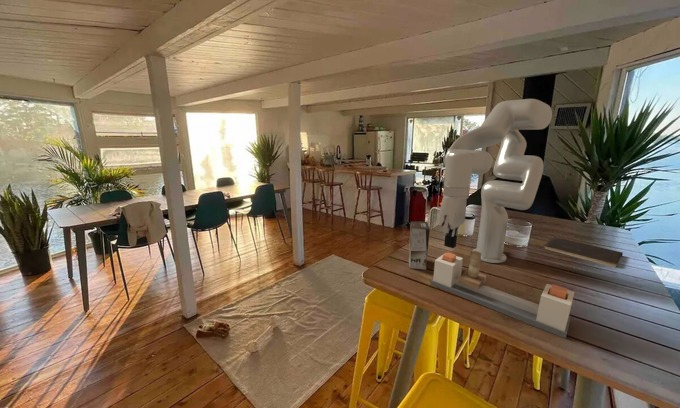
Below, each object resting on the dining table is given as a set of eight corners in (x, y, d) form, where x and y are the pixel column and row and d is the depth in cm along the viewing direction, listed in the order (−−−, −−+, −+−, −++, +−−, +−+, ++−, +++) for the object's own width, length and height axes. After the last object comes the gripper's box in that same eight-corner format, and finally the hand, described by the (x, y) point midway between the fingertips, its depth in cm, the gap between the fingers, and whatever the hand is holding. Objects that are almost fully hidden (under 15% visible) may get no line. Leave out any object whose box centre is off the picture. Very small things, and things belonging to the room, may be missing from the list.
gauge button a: (445, 261, 94) (446, 252, 93) (455, 264, 92) (456, 254, 91) (441, 264, 92) (442, 255, 91) (451, 267, 90) (452, 258, 89)
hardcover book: (615, 269, 104) (617, 263, 103) (543, 249, 121) (544, 244, 120) (621, 257, 113) (623, 252, 113) (553, 240, 131) (554, 236, 130)
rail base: (442, 274, 99) (444, 251, 97) (570, 321, 75) (577, 292, 72) (430, 284, 93) (432, 260, 91) (565, 338, 69) (573, 307, 66)
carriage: (466, 274, 92) (470, 246, 89) (486, 281, 88) (490, 252, 85) (458, 282, 87) (461, 253, 84) (478, 290, 83) (482, 259, 80)
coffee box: (426, 270, 103) (430, 229, 99) (409, 268, 104) (411, 228, 100) (424, 259, 111) (427, 221, 107) (408, 257, 113) (410, 220, 109)
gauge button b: (550, 295, 74) (552, 284, 74) (565, 300, 72) (567, 288, 71) (547, 300, 72) (550, 288, 71) (563, 305, 70) (566, 293, 69)
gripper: (454, 186, 93) (448, 237, 98) (433, 193, 83) (428, 249, 87) (477, 190, 88) (470, 243, 93) (458, 197, 78) (451, 257, 82)
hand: (449, 246), depth 90 cm, fingers closed
